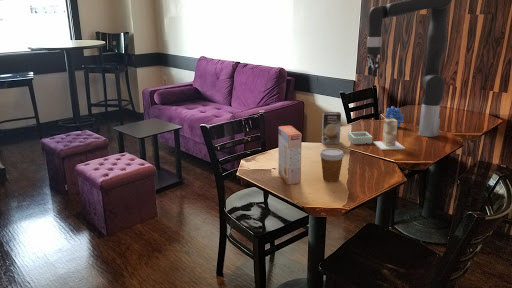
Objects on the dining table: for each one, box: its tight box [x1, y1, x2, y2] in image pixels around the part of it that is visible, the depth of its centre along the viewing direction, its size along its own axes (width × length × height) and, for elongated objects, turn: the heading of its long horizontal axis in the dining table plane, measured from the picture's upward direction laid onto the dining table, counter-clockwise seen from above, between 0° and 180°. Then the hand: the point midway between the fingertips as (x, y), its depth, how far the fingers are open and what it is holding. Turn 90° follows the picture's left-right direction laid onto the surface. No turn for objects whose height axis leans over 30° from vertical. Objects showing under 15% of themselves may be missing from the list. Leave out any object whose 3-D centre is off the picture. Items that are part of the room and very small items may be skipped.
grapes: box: [384, 105, 404, 127], centre depth 235 cm, size 12×7×12 cm, turn 47°
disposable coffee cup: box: [319, 147, 345, 183], centre depth 158 cm, size 10×10×12 cm
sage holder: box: [347, 131, 373, 145], centre depth 209 cm, size 10×10×4 cm
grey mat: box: [372, 140, 406, 151], centre depth 200 cm, size 12×12×1 cm
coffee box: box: [321, 111, 342, 145], centre depth 206 cm, size 9×6×16 cm
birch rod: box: [381, 118, 398, 146], centre depth 199 cm, size 5×5×13 cm
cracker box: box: [277, 125, 303, 185], centre depth 160 cm, size 14×6×21 cm, turn 12°
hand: (372, 75), depth 217 cm, fingers open, 8 cm apart
